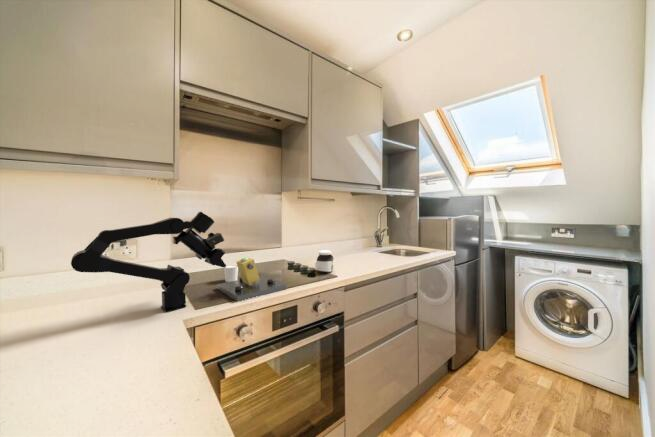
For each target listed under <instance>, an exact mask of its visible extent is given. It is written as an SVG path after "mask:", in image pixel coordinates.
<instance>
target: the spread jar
mask: <svg viewBox="0 0 655 437" xmlns="http://www.w3.org/2000/svg"><path fill="white" fill-rule="evenodd" d="M318 254H319V255H317V257H316V262H315V264H314V268H316V271H317V272H318V273H319V274H321V273H322V274H323V275H326V274H327V273H329V274H332V273H333V271H334V266H335V264H334V263H335V262H334V259H335V258H334V256H333V255H332V251H331V250H326V249H325V250H319V251H318ZM327 275H328V274H327Z"/></svg>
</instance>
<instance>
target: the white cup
mask: <svg viewBox="0 0 655 437" xmlns="http://www.w3.org/2000/svg"><path fill="white" fill-rule="evenodd" d="M223 272H224V281H225V283H226V282H231V281H236V280H238V277H239V276H238V275H239V274H238V273H239V269H238V266H237V264H235V265H234V264H233V265H232V264H231V265H226V267H225V268H224V267H223Z"/></svg>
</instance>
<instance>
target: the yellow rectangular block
mask: <svg viewBox="0 0 655 437" xmlns="http://www.w3.org/2000/svg"><path fill="white" fill-rule="evenodd" d="M235 263H236V265H237V266H238V273H239V275H240V277H241V278H242V281H243V282H244V283H246V284H248V285H252V284H254V281H258V280H260V278H259V276H260V275H259V272H258V270H257V265H256V263H255V259H254V258H250V257H247V256H246V257H243V258H241V259H239V260H237V261H236V262H235Z"/></svg>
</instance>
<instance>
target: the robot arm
mask: <svg viewBox="0 0 655 437" xmlns="http://www.w3.org/2000/svg"><path fill="white" fill-rule="evenodd" d="M214 224H215V221H214V219H212V217H211V216H208V215H207V214H205V213H203V211H198V212H197V214H196V215H195V216H194V217H193V218H192V219H191V220H190V221H189V220H183V219H181V218H179V217H168V218H165V219H161V220H158V221H156V222H153V223H148V224H141V225H134V226H128V227H122V228H121V227H120V228H116V229H104V230H101V231H100V232H99V233H98V235H97V236H96V237H95V238H94V239H93V240H92V241H91V242H90V243H89V244H88V245H87V246H86V247H85V248H84V249H82V250H79V251H77V252H76V253H74V254H73V256H72V258H71V260H70V265H71V267H72V269H73V271H76V272H79V273H114V274H120V275H125V276H133V277H138V278H144V279H149V280H154V281H160V282H161V284H160V286H161V289H162V290H164V291H161V306H160V308H161V310H163V311H164V312H165V313H167V312H169V313H170V312H172V311H175V310H179V309H184V308H186V307H187V304H186V303H187V301H186V300H187V299H186V298H187V296H186V292H185V287H186V286H187V284H189V282H190V278H191V276H190V274H189V272H187V271H186V270H185V269H184V268H182V267H180V266H173V265H170V264H167V266H166V267H165V268H164V267H163V268H161V267H154V266H150V265H144V264H140V263H139V264H138V263H134V262H129V261H124V260H123V261H122V260H119V259H114V258H111V257H109V256H106V255H104V253H105V252H106V250H107V249H108V247H109V246H110V245H111V244H112V243H113V242H114V243H115V242H120V241H126V240H130V239H138V238H141V237H142V238H143V237H148V236H155V235H177V236H172V241H173V242H172V243H173V245H178V244H179V243H180V242H181V243H182V244H183V245H184V246H186V247H187V248H188V249H189V250H190V251H192V253H195V257H196V258H198V259H199V260H202V259H203V260H204V262H205V263H207V264H209V265H212V266H217V267H220V268H223V269H224V268H225V267H226V266H227V264H226V263H225V262H224V260H223V257H224V255H225V254H226V251H224V250H223V249H222V248H216V246H217V245H218V244H221V243H223V242H225V238H224V236H223V235H222V233H219V232H217V233H213V232H210V233H208V234H207V238H203V237H202V236H200V235H201V233H202V234H205V233H206V232H207V231H208V230H209V229H210V228H211V227H212V226H213V225H214ZM199 234H200V235H199Z"/></svg>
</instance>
